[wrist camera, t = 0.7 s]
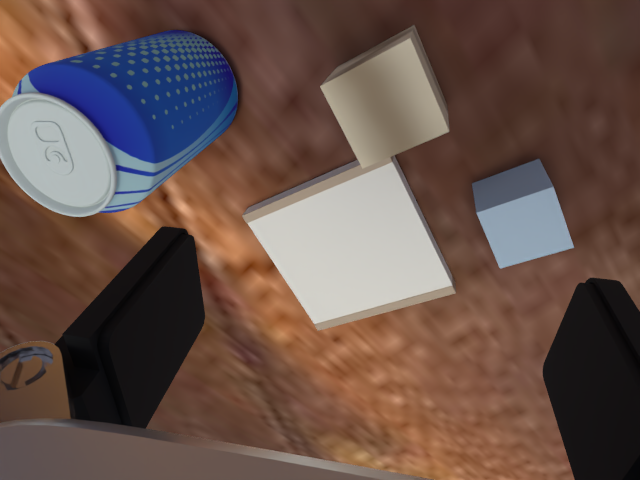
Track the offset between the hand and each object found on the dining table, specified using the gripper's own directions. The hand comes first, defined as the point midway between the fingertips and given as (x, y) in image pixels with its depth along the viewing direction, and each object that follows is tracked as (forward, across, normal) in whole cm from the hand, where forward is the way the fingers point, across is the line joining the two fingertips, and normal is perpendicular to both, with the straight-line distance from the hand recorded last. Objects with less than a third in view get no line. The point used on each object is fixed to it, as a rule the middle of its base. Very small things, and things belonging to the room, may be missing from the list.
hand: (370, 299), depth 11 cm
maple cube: (+25, 0, +1) cm, 25 cm away
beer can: (+26, +16, +2) cm, 31 cm away
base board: (+25, +2, +15) cm, 29 cm away
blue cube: (+25, -10, +8) cm, 28 cm away
